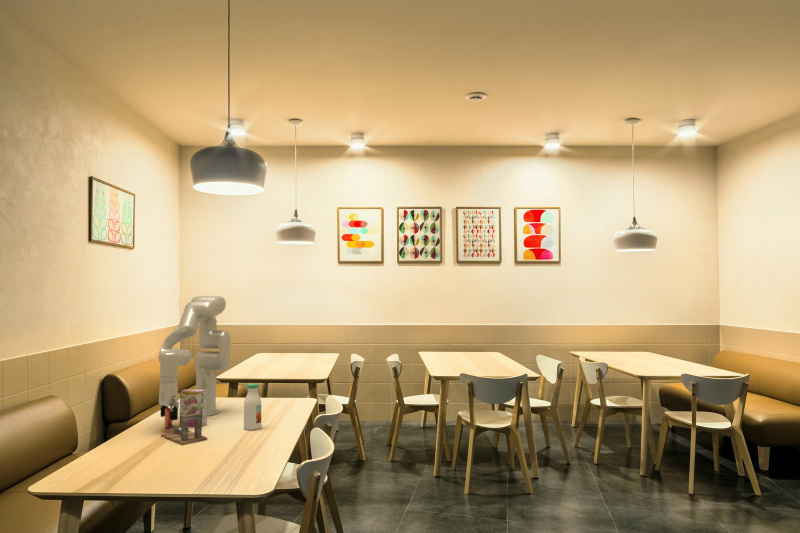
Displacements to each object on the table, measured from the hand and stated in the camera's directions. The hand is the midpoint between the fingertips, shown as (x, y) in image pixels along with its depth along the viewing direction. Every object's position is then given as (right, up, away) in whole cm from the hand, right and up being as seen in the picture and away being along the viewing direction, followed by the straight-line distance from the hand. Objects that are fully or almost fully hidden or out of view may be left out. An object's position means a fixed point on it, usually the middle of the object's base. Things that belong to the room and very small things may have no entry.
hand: (169, 418), depth 248 cm
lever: (+5, -4, -6) cm, 9 cm away
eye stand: (+11, -6, -11) cm, 16 cm away
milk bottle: (+36, -6, +5) cm, 37 cm away
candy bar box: (+7, -7, +11) cm, 14 cm away
